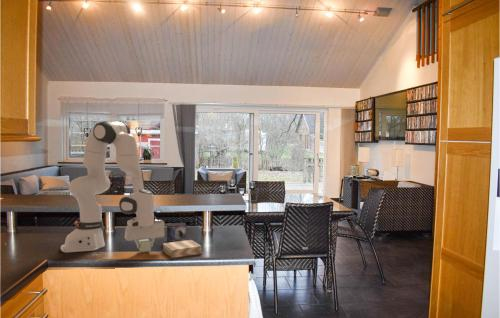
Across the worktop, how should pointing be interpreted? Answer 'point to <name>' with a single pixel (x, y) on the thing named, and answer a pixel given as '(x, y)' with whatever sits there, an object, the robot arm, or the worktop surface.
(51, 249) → the worktop surface
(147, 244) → the sage cube
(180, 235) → the small box
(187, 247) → the birch platform
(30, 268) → the worktop surface
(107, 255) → the worktop surface
